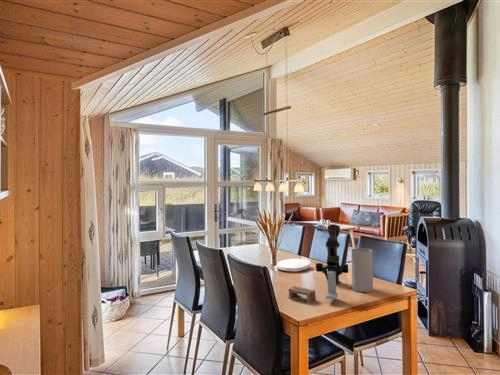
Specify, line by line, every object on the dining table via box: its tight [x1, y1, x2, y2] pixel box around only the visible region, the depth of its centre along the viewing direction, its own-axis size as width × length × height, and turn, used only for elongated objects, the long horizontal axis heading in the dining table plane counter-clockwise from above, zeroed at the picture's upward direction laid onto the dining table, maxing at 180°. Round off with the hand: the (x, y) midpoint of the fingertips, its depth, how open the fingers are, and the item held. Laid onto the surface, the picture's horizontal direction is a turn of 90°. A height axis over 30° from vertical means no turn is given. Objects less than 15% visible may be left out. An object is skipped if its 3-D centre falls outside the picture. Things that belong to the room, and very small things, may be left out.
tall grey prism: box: [325, 270, 338, 300], centre depth 194 cm, size 11×6×13 cm, turn 164°
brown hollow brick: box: [288, 285, 317, 304], centre depth 198 cm, size 7×14×6 cm, turn 49°
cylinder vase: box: [350, 247, 374, 293], centre depth 213 cm, size 12×12×25 cm
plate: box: [276, 258, 312, 273], centre depth 270 cm, size 28×6×27 cm
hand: (331, 280), depth 196 cm, fingers closed on tall grey prism, 4 cm apart
